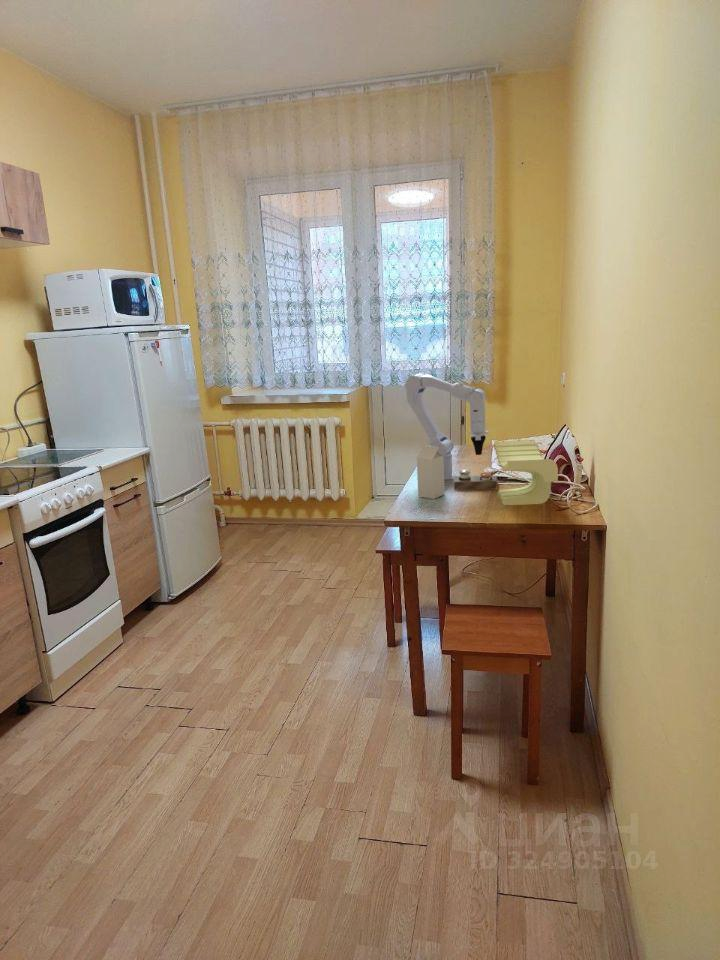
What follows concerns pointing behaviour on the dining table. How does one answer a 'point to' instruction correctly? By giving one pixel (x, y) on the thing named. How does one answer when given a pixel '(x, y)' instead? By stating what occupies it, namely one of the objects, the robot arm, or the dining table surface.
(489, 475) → the copper push button
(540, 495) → the slatted curved stool
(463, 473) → the grey plunger
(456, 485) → the console
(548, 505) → the dining table surface
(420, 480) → the milk carton
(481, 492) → the dining table surface
